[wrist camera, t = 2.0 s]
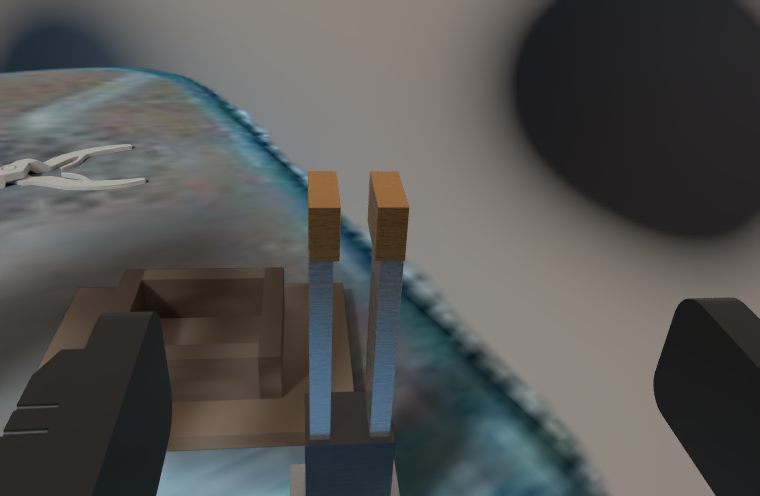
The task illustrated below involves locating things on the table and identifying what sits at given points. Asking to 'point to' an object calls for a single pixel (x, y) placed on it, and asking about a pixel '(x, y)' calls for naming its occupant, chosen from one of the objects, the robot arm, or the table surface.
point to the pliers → (20, 170)
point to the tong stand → (223, 349)
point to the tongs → (374, 405)
